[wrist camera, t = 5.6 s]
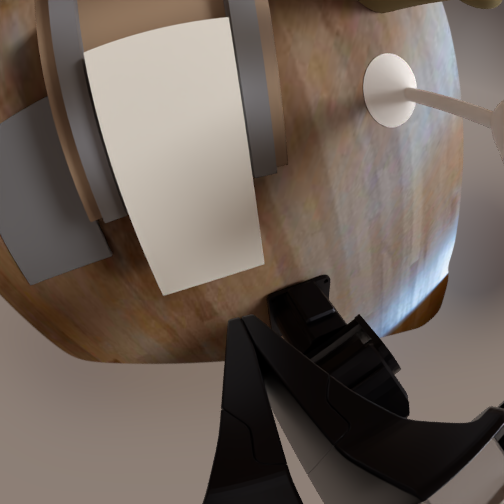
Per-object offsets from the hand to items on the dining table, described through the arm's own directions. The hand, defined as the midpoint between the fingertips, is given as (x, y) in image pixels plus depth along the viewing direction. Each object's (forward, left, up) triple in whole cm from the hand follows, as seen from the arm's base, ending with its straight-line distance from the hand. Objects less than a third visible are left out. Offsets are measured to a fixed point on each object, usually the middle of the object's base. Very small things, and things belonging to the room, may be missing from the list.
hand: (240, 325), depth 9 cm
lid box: (+8, 0, -12) cm, 14 cm away
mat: (+3, +11, -12) cm, 16 cm away
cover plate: (+3, 0, -8) cm, 8 cm away
